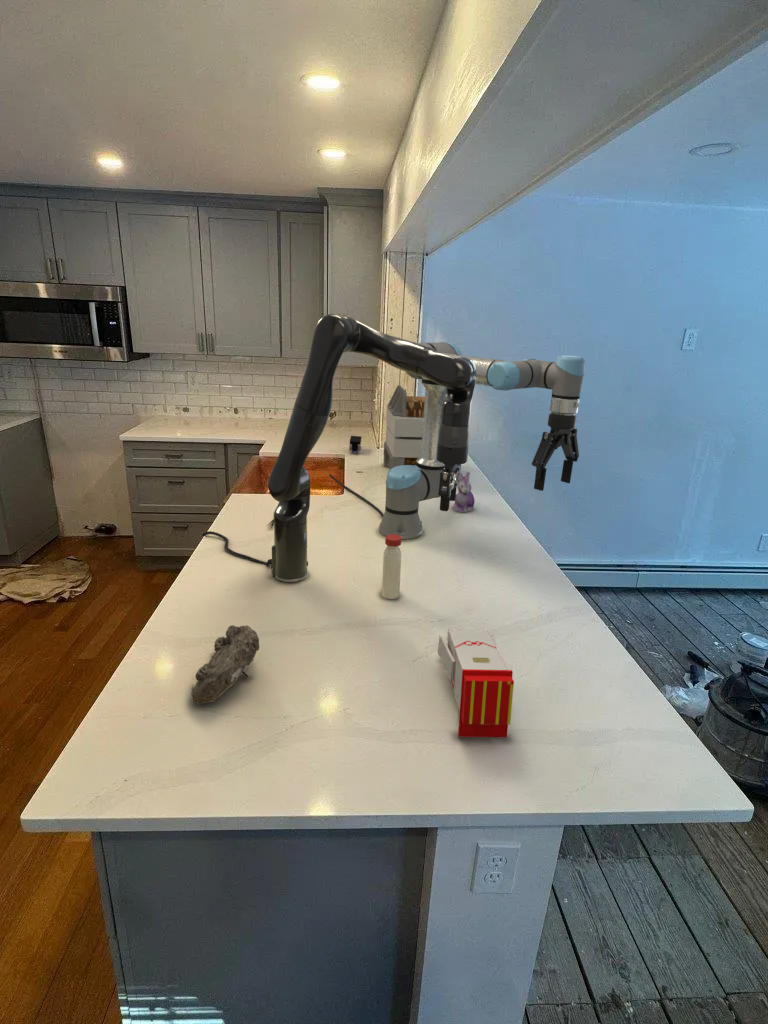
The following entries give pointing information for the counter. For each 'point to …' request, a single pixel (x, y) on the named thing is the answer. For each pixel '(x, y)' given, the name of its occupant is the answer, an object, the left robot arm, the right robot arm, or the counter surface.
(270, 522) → the feather
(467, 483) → the figurine
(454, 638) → the toy
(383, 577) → the bottle
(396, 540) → the cap
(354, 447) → the figurine character
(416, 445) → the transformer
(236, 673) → the fossil
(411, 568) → the counter surface
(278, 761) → the counter surface
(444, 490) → the right robot arm
